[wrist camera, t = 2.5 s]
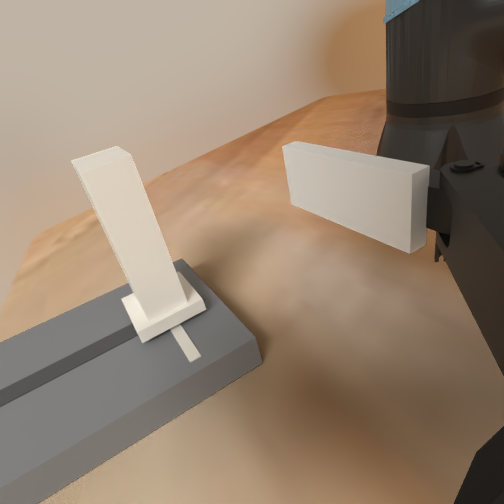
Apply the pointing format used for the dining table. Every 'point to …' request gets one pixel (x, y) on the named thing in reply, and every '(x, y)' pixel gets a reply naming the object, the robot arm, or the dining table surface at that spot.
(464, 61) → the robot arm
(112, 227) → the fader tab
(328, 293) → the dining table surface
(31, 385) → the slider console
